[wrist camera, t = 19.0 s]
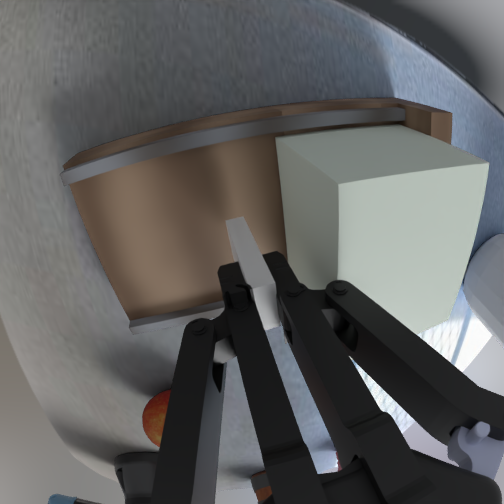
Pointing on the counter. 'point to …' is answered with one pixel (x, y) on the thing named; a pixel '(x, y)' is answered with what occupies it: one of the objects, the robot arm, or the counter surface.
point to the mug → (261, 486)
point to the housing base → (203, 197)
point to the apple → (155, 416)
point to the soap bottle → (487, 286)
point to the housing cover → (382, 215)
